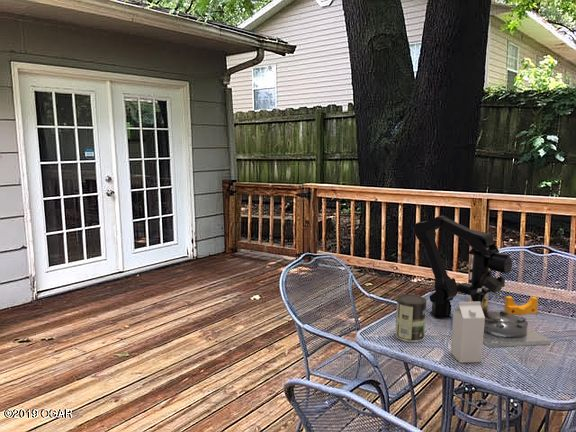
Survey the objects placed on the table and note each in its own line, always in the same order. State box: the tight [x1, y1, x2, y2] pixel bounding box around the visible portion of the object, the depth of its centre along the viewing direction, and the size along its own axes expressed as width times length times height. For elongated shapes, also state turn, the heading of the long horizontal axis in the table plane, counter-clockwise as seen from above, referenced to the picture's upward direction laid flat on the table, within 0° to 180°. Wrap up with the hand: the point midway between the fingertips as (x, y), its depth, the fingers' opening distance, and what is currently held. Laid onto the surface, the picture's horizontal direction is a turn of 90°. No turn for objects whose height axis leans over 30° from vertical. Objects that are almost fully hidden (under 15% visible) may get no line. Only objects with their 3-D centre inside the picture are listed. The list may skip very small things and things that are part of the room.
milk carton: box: [450, 301, 485, 363], centre depth 153 cm, size 7×7×19 cm
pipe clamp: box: [503, 295, 539, 316], centre depth 194 cm, size 12×4×6 cm, turn 89°
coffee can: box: [394, 293, 428, 343], centre depth 169 cm, size 10×10×14 cm
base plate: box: [483, 325, 551, 348], centre depth 175 cm, size 23×23×4 cm
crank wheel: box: [482, 296, 529, 337], centre depth 174 cm, size 17×17×9 cm
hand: (477, 307), depth 178 cm, fingers closed
